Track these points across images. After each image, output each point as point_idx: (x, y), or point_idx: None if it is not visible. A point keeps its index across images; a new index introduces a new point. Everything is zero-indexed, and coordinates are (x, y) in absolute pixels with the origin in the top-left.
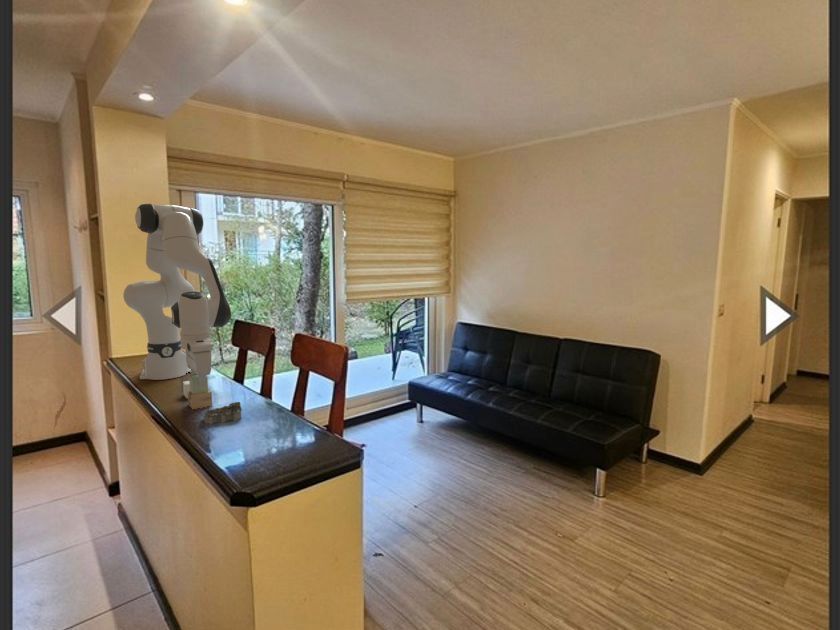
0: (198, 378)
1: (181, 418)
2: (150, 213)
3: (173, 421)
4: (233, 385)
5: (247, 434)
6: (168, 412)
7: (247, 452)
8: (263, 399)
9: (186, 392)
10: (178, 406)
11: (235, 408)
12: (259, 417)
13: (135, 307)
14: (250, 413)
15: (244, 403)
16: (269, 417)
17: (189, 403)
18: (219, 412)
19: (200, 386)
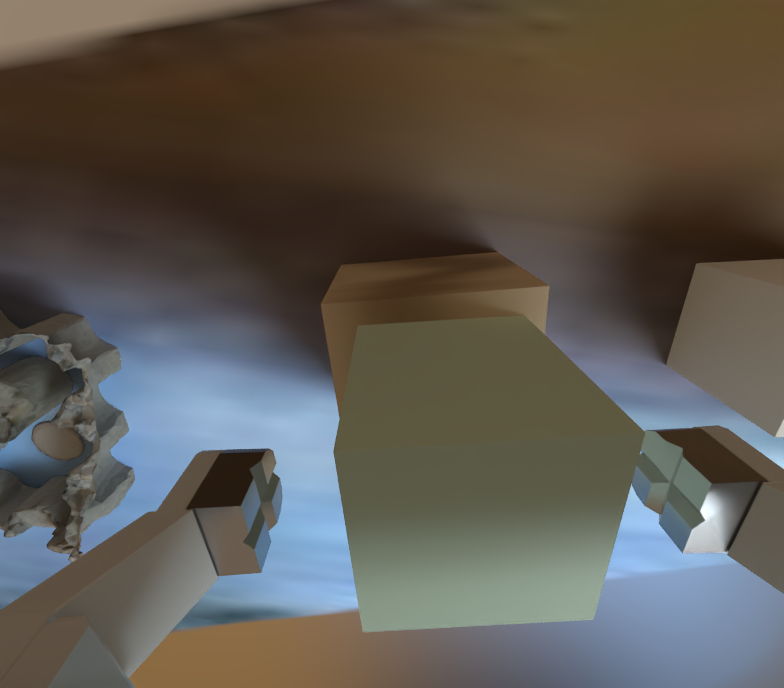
0: (347, 537)
1: (144, 148)
2: None
3: (78, 63)
4: (711, 553)
5: None
6: (380, 49)
7: None
8: (326, 610)
9: (742, 281)
10: (509, 168)
11: (113, 506)
12: (23, 552)
13: None
14: (106, 533)
15: (306, 540)
16: (11, 582)
17: (445, 262)
18: None
19: (202, 460)
